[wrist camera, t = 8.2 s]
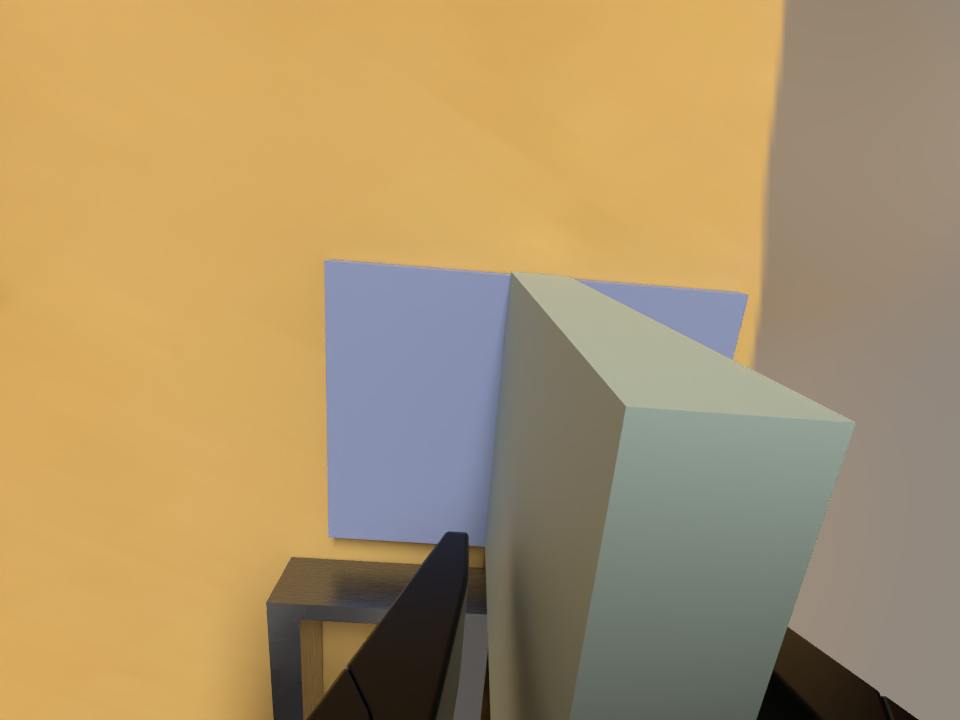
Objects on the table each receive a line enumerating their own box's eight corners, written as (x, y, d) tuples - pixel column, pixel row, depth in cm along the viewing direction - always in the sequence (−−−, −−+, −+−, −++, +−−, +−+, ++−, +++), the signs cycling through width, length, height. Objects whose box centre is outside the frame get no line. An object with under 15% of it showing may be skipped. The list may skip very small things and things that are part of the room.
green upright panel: (532, 546, 15) (631, 1091, 6) (484, 543, 15) (502, 1088, 6) (567, 275, 13) (855, 422, 3) (511, 271, 13) (626, 407, 3)
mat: (676, 546, 16) (684, 558, 15) (333, 525, 16) (328, 537, 15) (736, 292, 14) (748, 294, 13) (331, 259, 13) (324, 260, 13)
